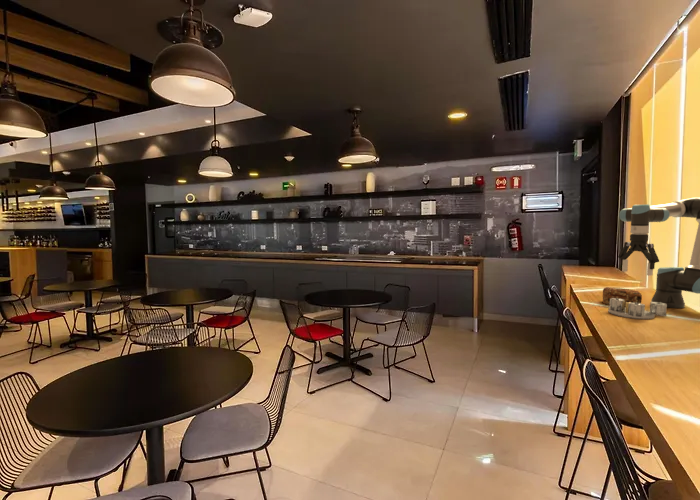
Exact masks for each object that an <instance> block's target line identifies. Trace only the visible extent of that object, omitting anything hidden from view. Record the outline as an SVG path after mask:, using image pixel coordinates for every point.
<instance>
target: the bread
mask: <svg viewBox="0 0 700 500" xmlns="http://www.w3.org/2000/svg"><path fill="white" fill-rule="evenodd" d="M642 295H643V294H642V292H640V291H639V290H635V289H634V290H633V289H629V288H622V287H608V286H607V287H604V288H603V289H602V304H603V303H604V304H605V305H607V304H608V305H610V299H611V298H620V299H623V300H625V307H626V302H632V303H640V304H642V298H643V296H642ZM604 304H603V305H604Z"/></svg>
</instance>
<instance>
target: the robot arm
mask: <svg viewBox="0 0 700 500" xmlns="http://www.w3.org/2000/svg"><path fill="white" fill-rule="evenodd" d="M670 217H672V218H694V219H695V221H696V222H697V223H698V226H697V229H696V235H695V240H694V243H693V248H692V251H691V256H690V261H689V264H688V265H687V266H685V267H682V266H681V267H679V266H675V267H674V266H673V267H672V266H671V267H670V266H669V267H668V266H667V267H659V268H658V269H657V273H656V284H655V285H656V287H655V292H654V294H653V295H652V298H651V299H650V300H651V301H650V302H661V303H665V304H667V308H672V309H683V308H685V307H686V305H685V304H686V303H685V300H684V297H683V293H682V292H688V293H693V294H697V295H698V294H699V295H700V197H691V198H686V199H685V198H684V199H681V200H674V201H672V202H670V203H665V204H656V205H650V204H649V203H648V204H633V205H632V207H631V208H623V209H621V210H620V211H619V214H618V218H619V220H621V221H622V222H625V223H626V222H627V223H629V222H630V235H629V241H625V242H624V244H623V246H622V248H621V250H620V253H619V254H618V257H617V258H618V259H621V266H622V267H621V268H622V269H621V271H622V272H624V273H625V272H628V270H629V268H628V267H629V259H628V258H629V257H630V256H631V255H632V254H633V253H634V252H639V253H640V252H641V253H642V254H643V256H644V257H645V258H646V260H647V261H648V262H647V269H646V276H653V275H654V273H653V272H654V270H655V265H656V263H660V259H659V257H658V254H657V252H656V250H655V248H654V247H655V245H654V243H648V240H649V230H650V223H661V222H665V221H667V220H668V219H670Z"/></svg>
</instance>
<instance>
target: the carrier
mask: <svg viewBox="0 0 700 500" xmlns="http://www.w3.org/2000/svg"><path fill="white" fill-rule="evenodd" d="M608 313H609V314H611V315H614V316H616V317H622V318H626V319H632V320H653V319H655V316H656V315H654V314H653V313H651V312H650V311H647V310H646V304H644V303H641V304H640V303H632V302H626V306H625V300H623V299H620V298H611V299H610V304H609V308H608Z"/></svg>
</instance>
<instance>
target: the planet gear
mask: <svg viewBox="0 0 700 500" xmlns="http://www.w3.org/2000/svg"><path fill="white" fill-rule="evenodd" d="M667 308H668V307H667V304H665V303H661V302H651V301H650V302H649V312H651V313H653V314H654V315H655V316H660V317H661V316H662V317H663V316H665V317H666V316H667Z"/></svg>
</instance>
